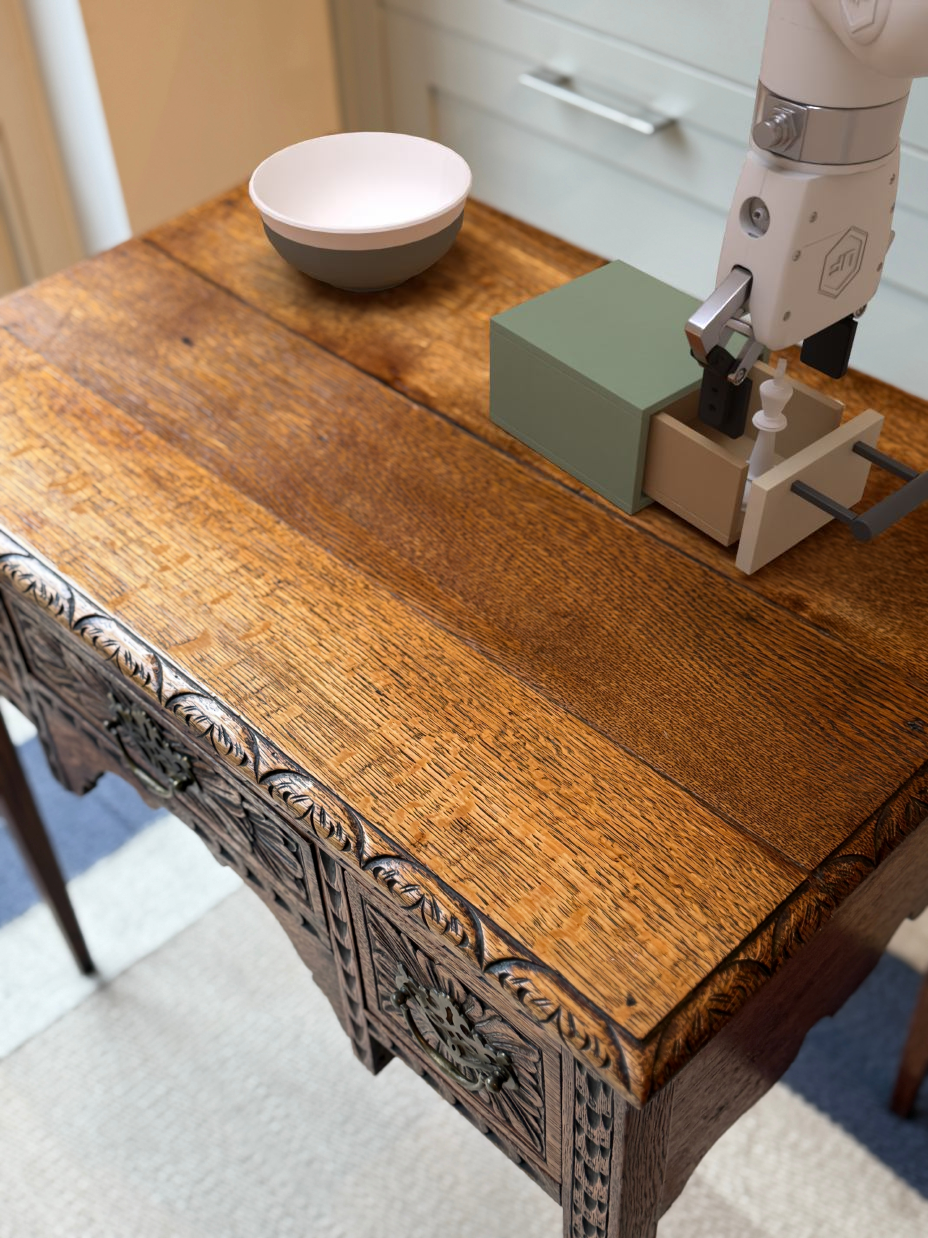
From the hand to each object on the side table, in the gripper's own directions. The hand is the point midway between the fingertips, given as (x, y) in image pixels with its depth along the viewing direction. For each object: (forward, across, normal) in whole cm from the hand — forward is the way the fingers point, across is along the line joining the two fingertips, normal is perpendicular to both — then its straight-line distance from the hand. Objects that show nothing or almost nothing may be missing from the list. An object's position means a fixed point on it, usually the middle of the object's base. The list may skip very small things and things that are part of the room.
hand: (772, 397), depth 73 cm
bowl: (+9, +1, +44) cm, 45 cm away
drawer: (+8, 0, -1) cm, 8 cm away
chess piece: (+7, 0, 0) cm, 7 cm away
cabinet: (+9, 0, +12) cm, 15 cm away
